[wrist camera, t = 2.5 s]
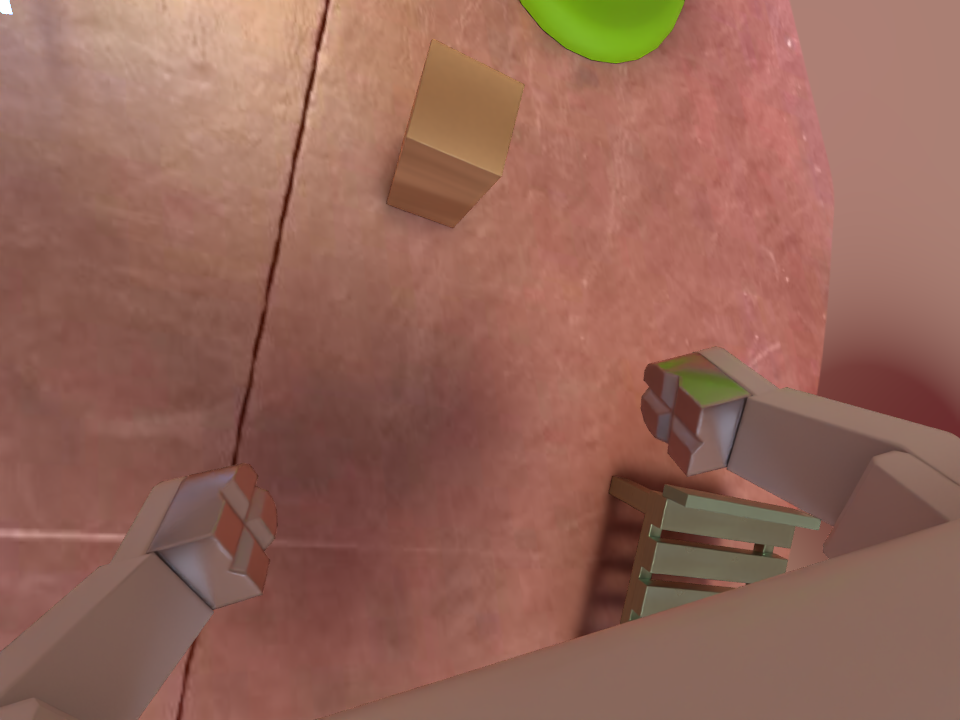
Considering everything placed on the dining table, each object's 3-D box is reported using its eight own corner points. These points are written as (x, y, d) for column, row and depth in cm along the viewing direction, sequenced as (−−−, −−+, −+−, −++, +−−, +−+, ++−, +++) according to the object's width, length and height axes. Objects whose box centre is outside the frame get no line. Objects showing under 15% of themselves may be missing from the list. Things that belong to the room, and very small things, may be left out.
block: (453, 228, 28) (501, 176, 19) (386, 204, 26) (406, 137, 18) (469, 163, 28) (525, 84, 19) (404, 136, 26) (432, 37, 18)
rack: (612, 460, 32) (688, 494, 25) (726, 484, 36) (821, 519, 29) (561, 678, 32) (624, 776, 24) (683, 678, 35) (769, 764, 28)
